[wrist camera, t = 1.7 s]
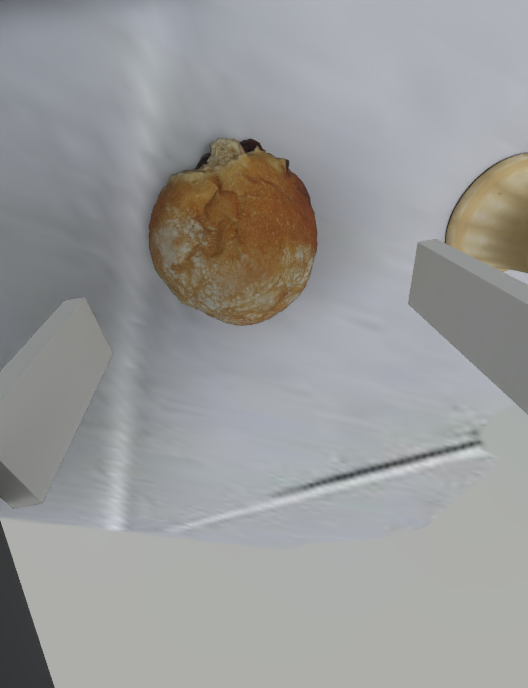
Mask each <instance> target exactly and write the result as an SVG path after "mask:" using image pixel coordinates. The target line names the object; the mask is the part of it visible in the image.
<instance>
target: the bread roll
mask: <svg viewBox="0 0 528 688" xmlns="http://www.w3.org/2000/svg"><path fill="white" fill-rule="evenodd" d="M210 147H211V154H210V153H207V154H205V155H204V156H203V157H202V158H201V160H200V162H199V163H198V165H197V167H196V168H195V169H193V170H184V171H182V172H181V173H176V175H171V177H170V179H169V181H168V184H167V186H166V187H163V188H162V191H161V193H160V195H159V197H158V200H157V202H156V204H155V206H154V208H153V211H152V214H151V220H150V224H149V230H150V231H149V249H150V253H151V257H152V261H153V264H154V267H155V270H156V272H157V273H158V274H159V276H160V277H161V278H162V279H163V280H164V282H165V284H167V286H168V287H169V289H170V290H171V291H172V293H173V294H174V295H175V296H177V298H178V299H179V300H180V301H181V303H183V304H186V305H188V306H191V307H194V308H195V309H199V310H201V311H203V312H204V313H206V314H207V315H209V316H211V317H214V318H216V319H218V320H221V321H223V322H225V323H229V324H233V325H241V326H242V325H252V324H257V323H260V322H262V321H265V320H268V319H270V318H272V317H273V316H274V315H276V314H277V313H279V312H281V311H283V310H284V309H285V308H286V307H287V306H288V305H289V304H291V303H292V302H293V301H294V300H296V299H297V297H298V296H299V295H300V294H301V292H302V291H303V289H304V288H305V286H306V284H307V281H308V280H309V278H310V273H311V269H312V264H313V262H314V257H315V254H316V251H317V228H316V221H315V216H314V212H313V209H312V206H311V203H310V196H309V194H308V192H307V189H306V187H305V186H304V184H303V182H302V181H301V179H299V178H298V177H297V175H296V174H294V173H292V172H291V171H290V170H289V169H288V167H289V160H287V159H284V158H275V157H274V156H273V155H271V154H270V153H266V151H265V150H264V149H262V147H261V145H260V143H259V142H257V141H255V140H253V139H248V140H244V141H242V142H241V143H239V141H237V140H236V139H234V138H233V139H224V138H218V139H217V140H216V141H214V142H212V143H211V144H210ZM217 176H218V177H217Z"/></svg>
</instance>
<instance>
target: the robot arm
mask: <svg viewBox="0 0 528 688" xmlns="http://www.w3.org/2000/svg"><path fill="white" fill-rule="evenodd" d="M408 304H409V305H410V306H411V307H412V308H413V309H414V310H415V311H416V312H417V313H418V314H419V315H421V316H422V317H423V318H424V319H425V320H426V321H427V322H428V323H429V324H430V325H431V326H432V327H434V328H435V329H436V330H437V331H438V332H439V333H440V334H441V335H442V336H443V337H444V338H445V339H447V340H448V341H449V342H450V343H451V344H452V345H453V346H454V347H455V348H456V349H457V350H458V351H460V352H461V353H462V354H463V355H464V356H465V357H466V358H467V359H468V360H469V361H470V362H471V363H473V364H474V365H475V366H476V367H477V368H478V369H479V370H480V371H481V372H482V373H483V374H484V375H486V376H487V377H488V378H489V379H490V380H491V381H492V382H493V383H494V384H495V385H496V386H497V387H499V388H500V389H501V390H502V391H503V392H504V393H505V394H506V395H507V396H508V397H509V398H510V399H512V400H513V401H514V402H515V403H516V404H517V405H518V406H519V407H520V408H521V409H522V410H523V411H525V412H526V413H527V414H528V285H527V284H525V283H523V282H521V281H519V280H517V279H515V278H513V277H511V276H509V275H507V274H505V273H503V272H501V271H499V270H497V269H495V268H493V267H491V266H489V265H487V264H485V263H483V262H481V261H479V260H477V259H475V258H473V257H471V256H469V255H467V254H465V253H463V252H461V251H459V250H457V249H455V248H453V247H451V246H449V245H447V244H445V243H443V242H441V241H439V240H437V239H434V240H428V241H422V242H418V243H417V250H416V256H415V263H414V269H413V276H412V282H411V289H410V295H409V302H408ZM112 356H113V353H112V351H111V349H110V347H109V345H108V343H107V341H106V339H105V337H104V335H103V333H102V331H101V329H100V327H99V325H98V323H97V321H96V319H95V317H94V315H93V313H92V311H91V309H90V307H89V305H88V303H87V301H86V299H85V297H81V298H75V299H69V300H64V302H63V303H62V304H61V305H60V306H59V307H58V308H57V309H56V310H55V312H54V313H53V314H52V315H51V316H50V317H49V318H48V319H47V320H46V321H45V323H44V324H43V325H42V326H41V327H40V328H39V329H38V330H37V331H36V332H35V334H34V335H33V336H32V337H31V338H30V339H29V340H28V341H27V342H26V343H25V345H24V346H23V347H22V348H21V349H20V350H19V351H18V352H17V353H16V355H15V356H14V357H13V358H12V359H11V360H10V361H9V362H8V363H7V364H6V366H5V367H4V368H3V369H2V370H1V371H0V497H1V498H2V499H3V500H4V501H5V502H6V503H7V504H9V505H10V506H11V507H12V508H19V507H24V506H30V505H36V504H41V503H43V502H44V499H45V497H46V495H47V493H48V491H49V489H50V487H51V485H52V483H53V480H54V478H55V476H56V474H57V472H58V470H59V468H60V466H61V463H62V461H63V459H64V457H65V455H66V453H67V451H68V449H69V447H70V444H71V442H72V440H73V438H74V436H75V434H76V432H77V430H78V428H79V425H80V423H81V421H82V419H83V417H84V415H85V413H86V411H87V409H88V406H89V404H90V402H91V400H92V398H93V396H94V394H95V392H96V389H97V387H98V385H99V383H100V381H101V379H102V377H103V375H104V373H105V370H106V368H107V366H108V364H109V362H110V360H111V358H112ZM0 688H54V685H53V681H52V678H51V675H50V672H49V670H48V666H47V663H46V660H45V657H44V654H43V651H42V648H41V645H40V641H39V638H38V635H37V632H36V629H35V626H34V623H33V620H32V617H31V614H30V611H29V608H28V605H27V602H26V598H25V595H24V592H23V590H22V586H21V583H20V580H19V577H18V574H17V571H16V568H15V565H14V562H13V558H12V555H11V552H10V549H9V546H8V543H7V540H6V537H5V534H4V531H3V528H2V525H1V522H0Z"/></svg>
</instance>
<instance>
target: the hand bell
mask: <svg viewBox="0 0 528 688" xmlns="http://www.w3.org/2000/svg"><path fill="white" fill-rule="evenodd" d="M446 244H447V245H449V246H451V247H453V248H455V249H457V250H459V251H461V252H463V253H465V254H467V255H469V256H471V257H473V258H475V259H477V260H479V261H481V262H483V263H485V264H487V265H489V266H491V267H493V268H495V269H497V270H499V271H501V272H504V271H507V270H516V271H521V272H525V273H528V153H523V154H519V155H516V156H512V157H510V158H508V159H505V160H503V161H501V162H499V163H498V164H496V165H494V166H493V167H492V168H490V169H489V170H487V171H486V172H485V173H484V174H483V175H481V176H480V177H479V178H478V179H477V180H476V181H475V182H474V183H473V184H472V185H471V186H470V188H469V189H468V190H467V191H466V192H465V193H464V195H463V196H462V198H461V199H460V201H459V203H458V204H457V206H456V208H455V209H454V212H453V214H452V216H451V219H450V222H449V225H448V228H447V233H446Z"/></svg>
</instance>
